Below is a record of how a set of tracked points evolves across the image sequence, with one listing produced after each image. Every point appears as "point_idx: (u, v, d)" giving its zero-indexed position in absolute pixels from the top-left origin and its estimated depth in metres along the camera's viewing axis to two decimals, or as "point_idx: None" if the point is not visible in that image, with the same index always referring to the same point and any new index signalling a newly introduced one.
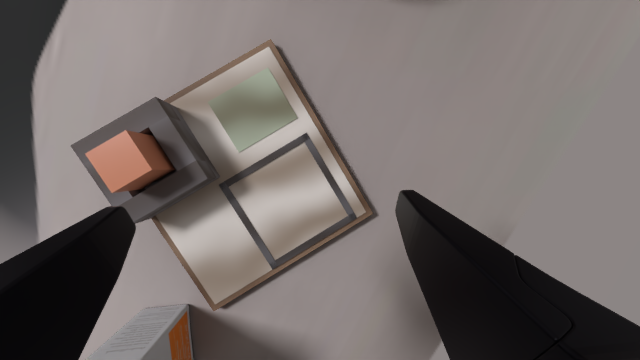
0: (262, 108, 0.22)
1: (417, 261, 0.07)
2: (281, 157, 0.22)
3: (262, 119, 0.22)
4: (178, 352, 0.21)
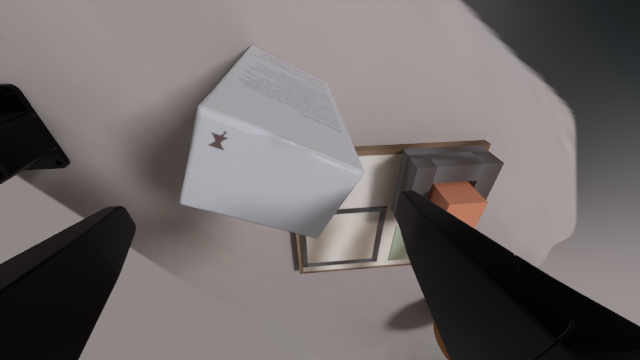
0: None
1: (417, 261, 0.07)
2: (373, 244, 0.29)
3: (403, 245, 0.29)
4: None
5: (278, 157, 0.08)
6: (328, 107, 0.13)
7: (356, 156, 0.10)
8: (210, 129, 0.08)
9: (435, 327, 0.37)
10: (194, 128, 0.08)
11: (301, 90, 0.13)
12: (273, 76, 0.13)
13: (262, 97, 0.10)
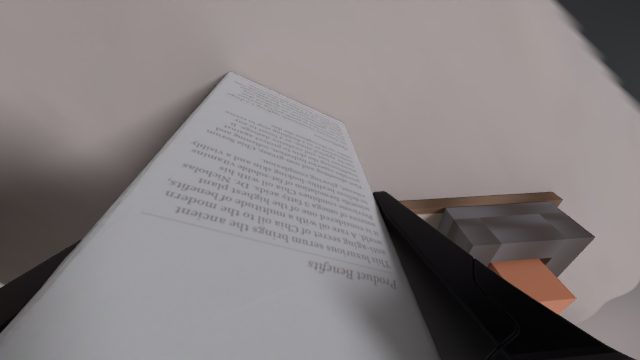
0: None
1: None
2: None
3: None
4: None
5: None
6: (357, 197, 0.07)
7: None
8: None
9: None
10: None
11: (308, 165, 0.07)
12: (257, 142, 0.07)
13: (217, 243, 0.04)
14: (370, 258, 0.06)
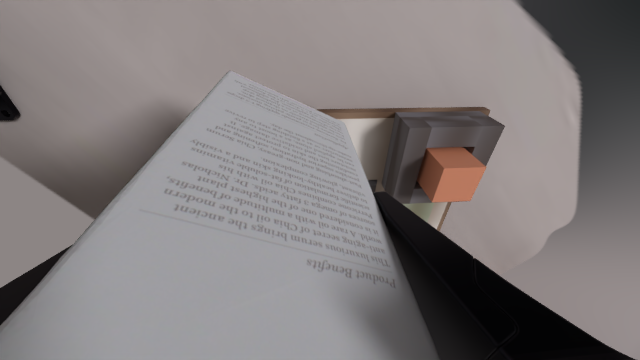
0: None
1: None
2: None
3: None
4: None
5: None
6: (357, 196, 0.07)
7: None
8: None
9: None
10: None
11: (308, 163, 0.07)
12: (257, 141, 0.07)
13: (215, 241, 0.04)
14: (369, 257, 0.05)
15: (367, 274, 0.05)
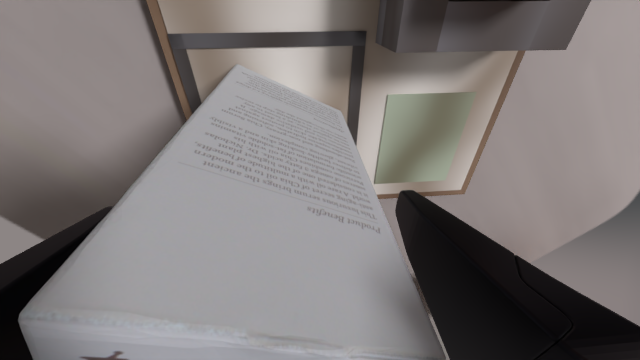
0: (412, 153, 0.16)
1: (417, 261, 0.07)
2: None
3: (402, 147, 0.15)
4: None
5: None
6: (350, 168, 0.08)
7: (421, 307, 0.05)
8: (72, 354, 0.03)
9: None
10: (32, 349, 0.03)
11: (308, 141, 0.09)
12: (264, 121, 0.08)
13: (236, 187, 0.05)
14: (359, 211, 0.07)
15: (356, 222, 0.06)
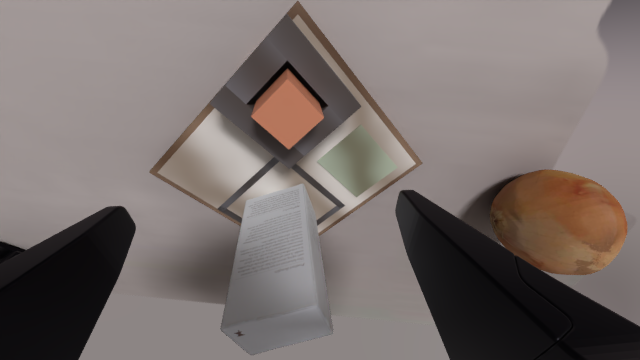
0: (360, 170, 0.24)
1: (417, 261, 0.07)
2: (319, 193, 0.25)
3: (351, 173, 0.23)
4: None
5: (268, 324, 0.14)
6: (298, 234, 0.18)
7: (312, 289, 0.15)
8: (232, 333, 0.15)
9: (496, 235, 0.27)
10: (227, 334, 0.15)
11: (278, 231, 0.19)
12: (259, 235, 0.20)
13: (251, 278, 0.17)
14: (296, 259, 0.17)
15: (294, 266, 0.16)
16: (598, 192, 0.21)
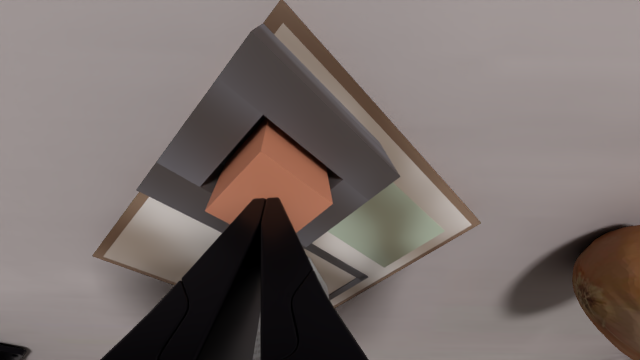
0: (390, 237, 0.16)
1: None
2: (332, 265, 0.18)
3: (376, 241, 0.16)
4: None
5: None
6: None
7: None
8: None
9: None
10: None
11: None
12: None
13: None
14: None
15: None
16: None
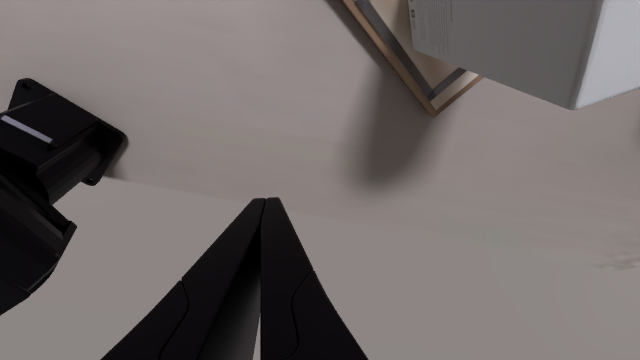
0: None
1: None
2: None
3: None
4: None
5: None
6: None
7: None
8: None
9: None
10: None
11: None
12: None
13: None
14: None
15: None
16: None
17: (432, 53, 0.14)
